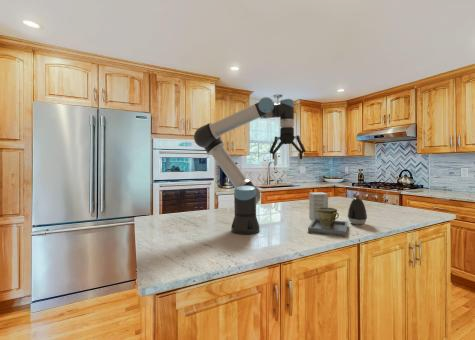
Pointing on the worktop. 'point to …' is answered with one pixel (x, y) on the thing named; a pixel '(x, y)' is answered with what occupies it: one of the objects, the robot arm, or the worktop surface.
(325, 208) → the ceramic cup
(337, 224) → the tray
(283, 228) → the worktop surface
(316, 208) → the supplement box
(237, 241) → the worktop surface
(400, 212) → the worktop surface
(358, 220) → the dark grey egg shape
